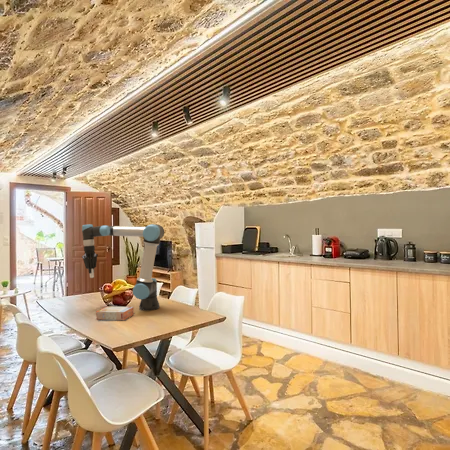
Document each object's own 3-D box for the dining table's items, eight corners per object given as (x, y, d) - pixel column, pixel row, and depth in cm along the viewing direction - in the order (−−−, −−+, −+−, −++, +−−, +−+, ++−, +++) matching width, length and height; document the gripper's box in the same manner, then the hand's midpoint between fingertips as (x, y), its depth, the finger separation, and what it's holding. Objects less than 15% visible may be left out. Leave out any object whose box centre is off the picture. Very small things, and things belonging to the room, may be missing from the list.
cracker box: (96, 320, 230) (124, 320, 226) (95, 311, 230) (123, 311, 226) (107, 314, 244) (134, 314, 239) (106, 306, 244) (133, 306, 239)
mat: (135, 313, 246) (134, 312, 246) (125, 320, 226) (125, 320, 226) (109, 313, 247) (109, 313, 247) (97, 321, 227) (97, 320, 227)
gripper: (92, 245, 256) (95, 276, 256) (78, 246, 245) (81, 279, 244) (99, 244, 253) (102, 276, 252) (85, 245, 241) (88, 279, 241)
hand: (92, 277), depth 248 cm, fingers closed
